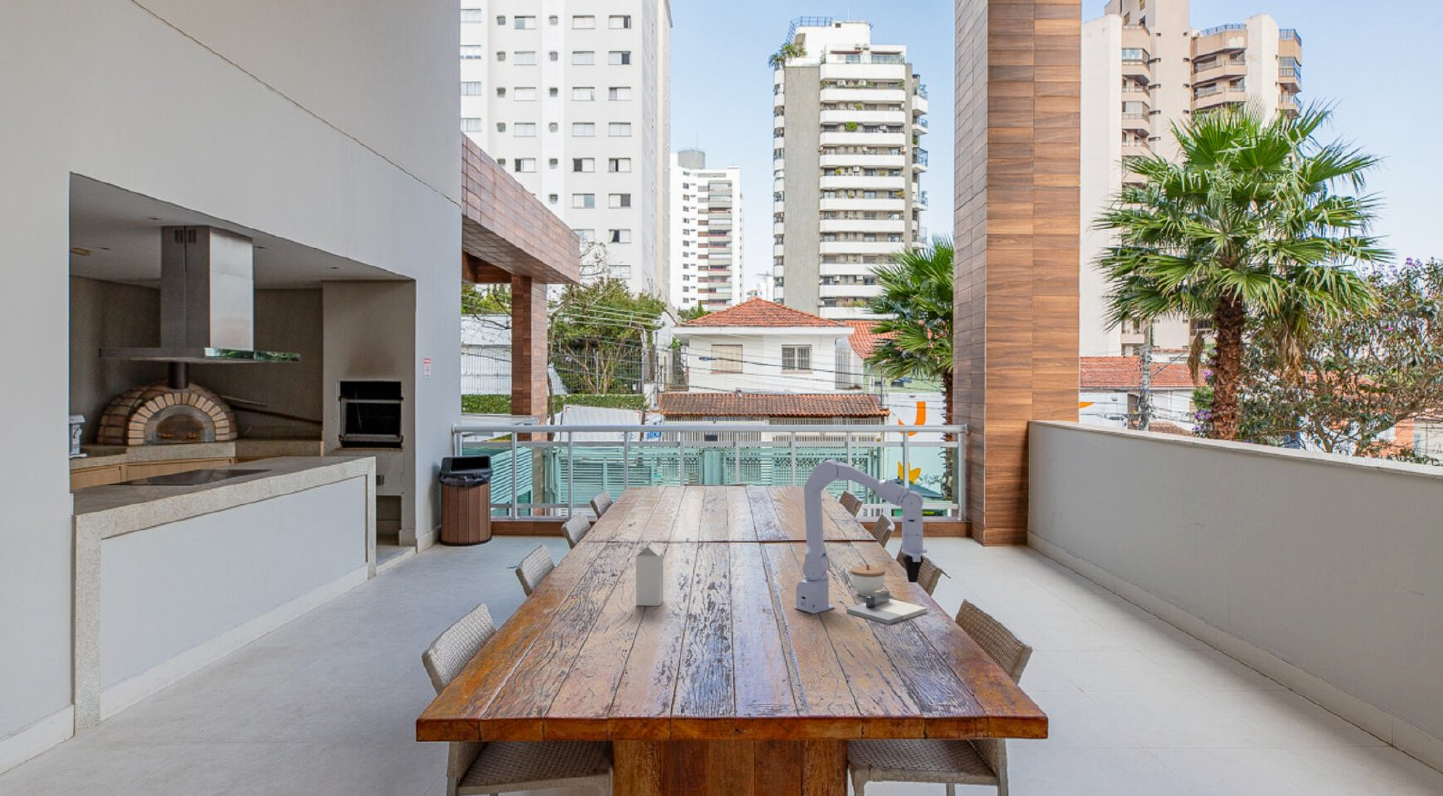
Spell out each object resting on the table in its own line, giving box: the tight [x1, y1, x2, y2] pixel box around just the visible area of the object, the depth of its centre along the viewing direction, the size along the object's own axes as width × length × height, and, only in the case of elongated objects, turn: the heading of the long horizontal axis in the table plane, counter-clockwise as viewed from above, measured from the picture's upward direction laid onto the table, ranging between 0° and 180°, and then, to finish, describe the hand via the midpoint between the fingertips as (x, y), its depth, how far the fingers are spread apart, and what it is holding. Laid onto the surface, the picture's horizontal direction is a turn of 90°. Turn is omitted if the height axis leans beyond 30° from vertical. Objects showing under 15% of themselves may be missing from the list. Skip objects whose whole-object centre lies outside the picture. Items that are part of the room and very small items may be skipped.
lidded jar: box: [850, 563, 886, 597], centre depth 242 cm, size 11×11×9 cm
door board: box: [846, 589, 928, 625], centre depth 221 cm, size 18×15×4 cm
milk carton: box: [635, 538, 664, 607], centre depth 232 cm, size 7×7×19 cm
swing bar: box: [865, 589, 890, 608], centre depth 225 cm, size 10×3×3 cm, turn 138°
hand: (912, 581), depth 217 cm, fingers closed
